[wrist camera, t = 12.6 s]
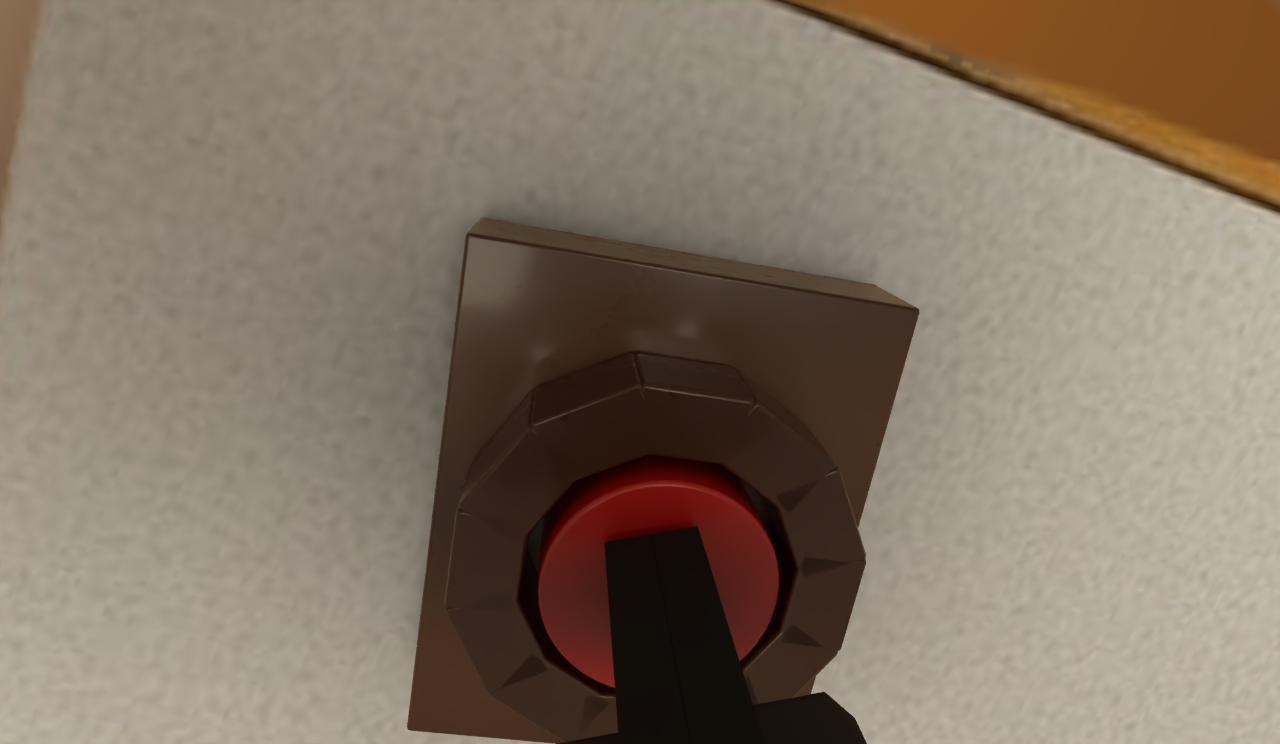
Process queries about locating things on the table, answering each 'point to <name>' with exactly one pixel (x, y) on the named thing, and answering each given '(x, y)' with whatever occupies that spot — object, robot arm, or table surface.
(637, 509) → the button
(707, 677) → the robot arm
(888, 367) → the button box
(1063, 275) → the table surface
